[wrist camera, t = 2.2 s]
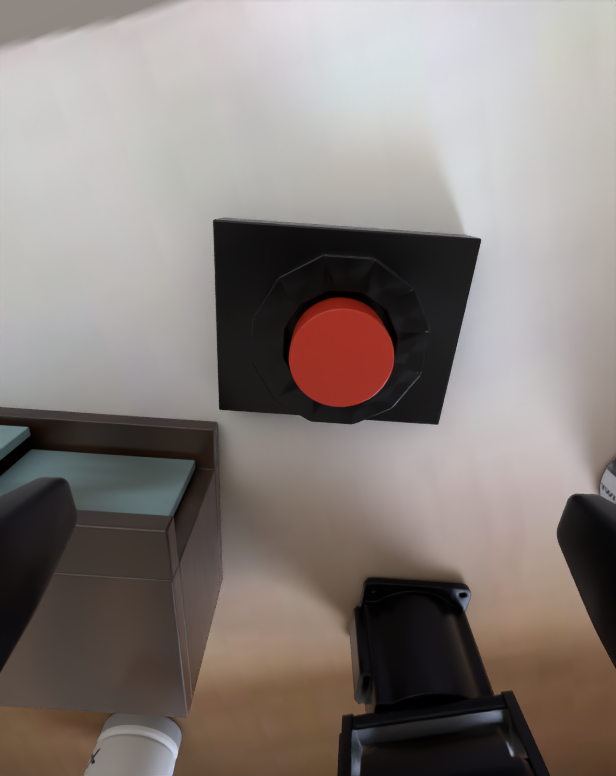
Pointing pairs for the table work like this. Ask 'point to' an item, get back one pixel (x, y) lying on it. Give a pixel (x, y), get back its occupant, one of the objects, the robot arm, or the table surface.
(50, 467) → the display cabinet
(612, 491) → the pill bottle
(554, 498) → the table surface
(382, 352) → the red button
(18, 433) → the cabinet door
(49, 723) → the table surface
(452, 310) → the button housing
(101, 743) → the travel mug
